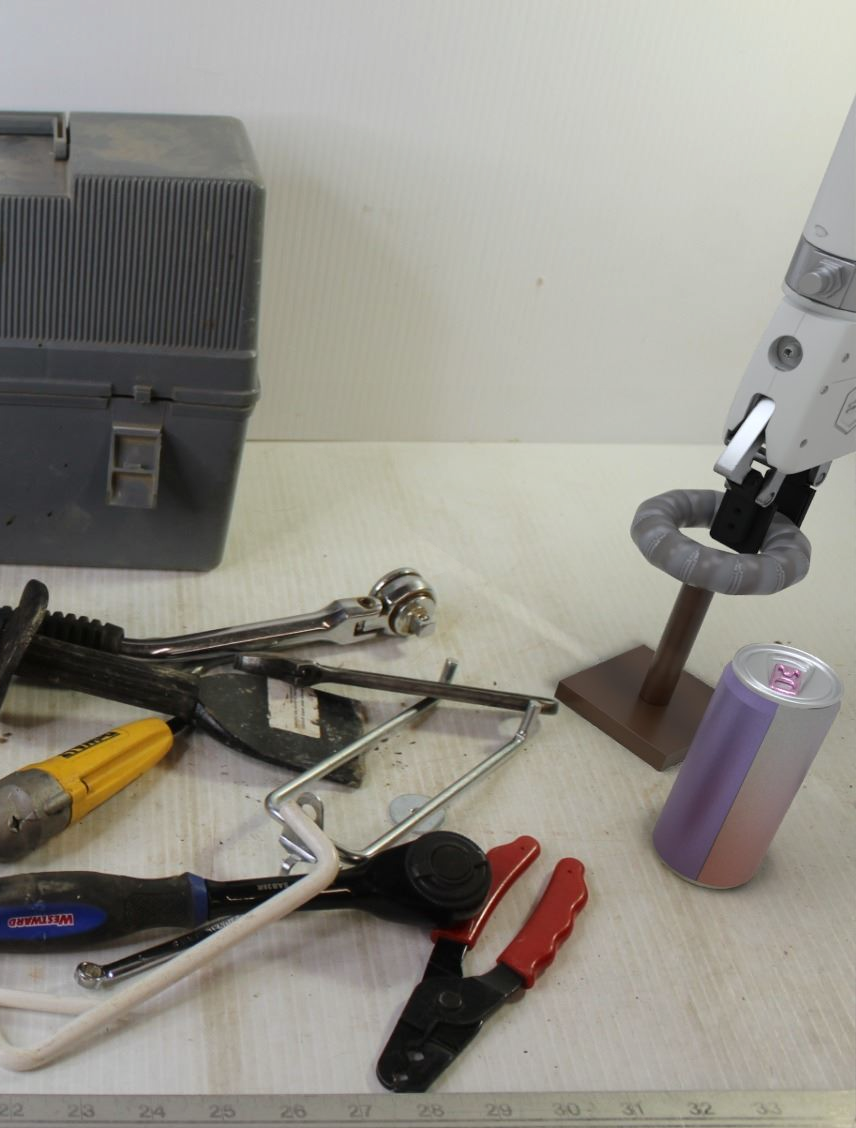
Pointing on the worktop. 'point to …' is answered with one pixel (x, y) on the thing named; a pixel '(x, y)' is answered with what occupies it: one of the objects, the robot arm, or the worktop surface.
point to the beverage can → (746, 763)
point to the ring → (710, 567)
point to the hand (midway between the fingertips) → (751, 536)
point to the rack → (648, 689)
